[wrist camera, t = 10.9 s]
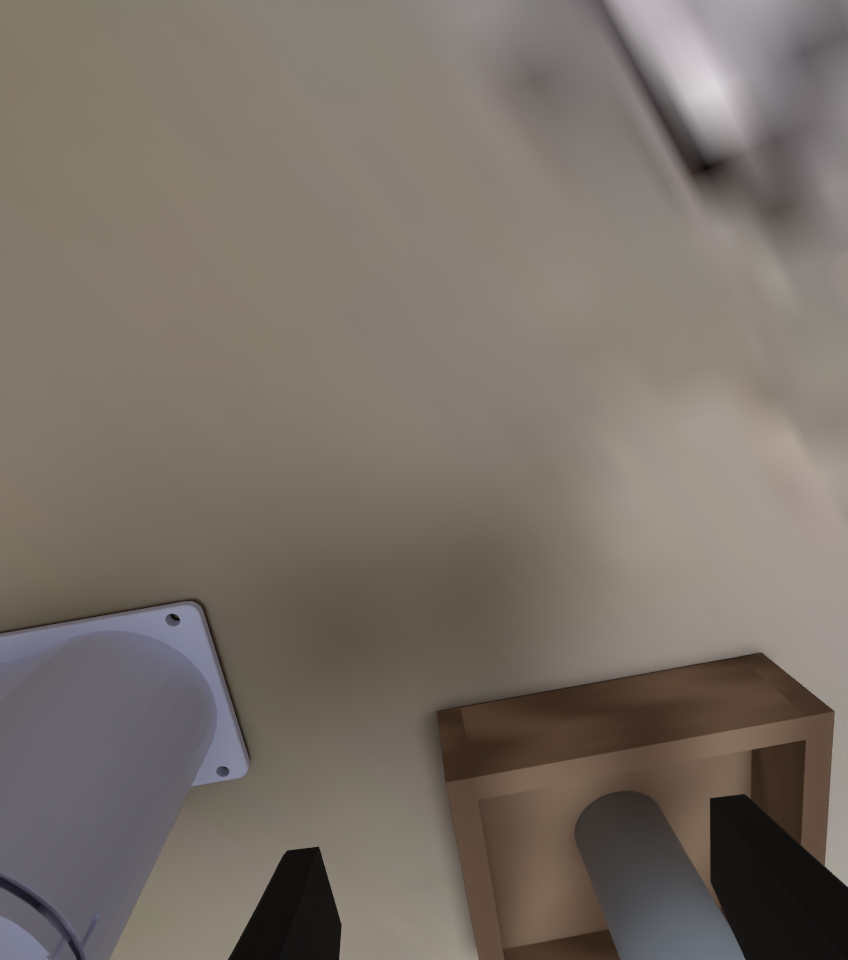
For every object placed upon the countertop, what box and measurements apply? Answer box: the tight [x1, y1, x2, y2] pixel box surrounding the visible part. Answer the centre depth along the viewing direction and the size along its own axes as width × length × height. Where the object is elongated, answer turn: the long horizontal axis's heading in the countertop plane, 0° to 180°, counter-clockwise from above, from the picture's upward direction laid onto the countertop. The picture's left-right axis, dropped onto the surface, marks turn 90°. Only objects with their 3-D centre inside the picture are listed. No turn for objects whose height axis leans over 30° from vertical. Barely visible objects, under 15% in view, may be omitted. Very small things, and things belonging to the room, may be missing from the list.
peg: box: [575, 791, 746, 960], centre depth 18 cm, size 4×4×8 cm
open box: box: [437, 653, 835, 960], centre depth 20 cm, size 14×14×4 cm
